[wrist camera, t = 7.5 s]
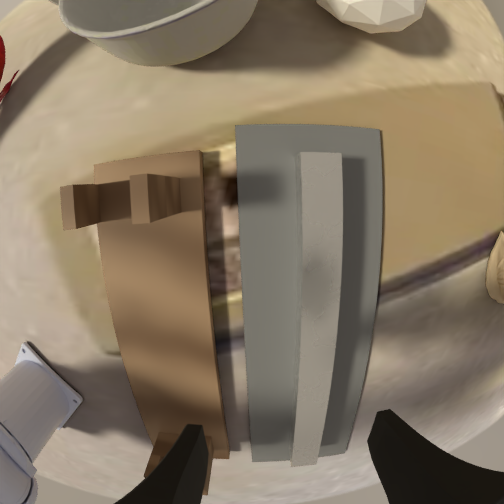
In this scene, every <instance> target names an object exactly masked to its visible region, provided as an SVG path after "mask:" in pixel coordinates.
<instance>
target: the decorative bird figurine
mask: <svg viewBox="0 0 504 504" xmlns="http://www.w3.org/2000/svg"><path fill="white" fill-rule="evenodd" d="M4 66H5V46H4V42H3V39H2V37H1V36H0V82H1V79H2V75H3V70H4ZM18 71H19V70H18ZM18 71H17V72H16V73H15V74H14V76H13V78H12V79H11V81H10V82H8V83H7V84H6V85H5V86H4V88H3V90H2V91H1V93H0V102H1V100H2V99H3V97H4V96H5V95H6V94H7V93H8V91H9V89H10V87H11V84H12V81H13V79H14V78H15V76H16V74H17V73H18Z"/></svg>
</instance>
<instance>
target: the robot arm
mask: <svg viewBox="0 0 504 504" xmlns="http://www.w3.org/2000/svg"><path fill="white" fill-rule="evenodd" d="M82 401H83V399H82V397H81V396H80V395H79V394H78V393H77V392H76V391H75V390H73V389H72V388H71V387H70V386H69V385H68V384H67V383H66V382H65V381H64V380H63V379H61V378H60V377H59V376H58V375H57V374H56V373H55V372H54V371H53V370H52V369H51V368H50V367H49V366H48V365H47V364H46V363H45V362H44V361H43V360H42V359H41V358H40V357H39V356H38V355H37V353H36V352H35V351H34V350H33V349H32V348H31V347H30V346H29V345H28V344H27V343H26V342H24V343H23V344H22V345H21V348H20V351H19V354H18V357H17V360H16V363H15V367H13V368H12V369H11V370H10V371H9V372H8V373H7V374H6V375H4V376H3V377H2V378H1V379H0V504H34V503H35V501H36V499H37V490H38V486H37V481H36V479H35V478H34V474H35V473H36V471H37V469H36V468H35V467H34V466H33V465H32V464H33V462H34V461H35V459H36V458H37V456H38V455H39V453H40V452H41V450H42V449H43V448H44V446H45V445H46V443H47V442H48V440H49V439H50V437H51V436H52V435H53V433H54V432H55V430H56V429H58V430H60V429H61V428H62V427H63V425H64V424H65V423H66V421H67V420H68V419H69V417H70V416H71V415H72V414H73V412H74V411H75V410H76V409H77V407H78V406H79V405H80V403H81V402H82ZM367 442H368V446H369V450H370V454H371V458H372V461H373V464H374V466H375V468H376V471H377V473H378V476H379V478H380V481H381V483H382V485H383V488H384V490H385V492H386V495H387V497H388V501H389V504H504V472H499V471H493V470H489V469H485V468H482V467H479V466H475V465H473V464H470V463H467V462H465V461H463V460H460V459H458V458H456V457H454V456H452V455H450V454H449V453H447V452H445V451H443V450H442V449H440V448H439V447H437V446H436V445H434V444H433V443H431V442H430V441H428V440H427V439H425V438H424V437H423V436H422V435H420V434H419V433H418V432H416V431H415V430H414V429H413V428H412V427H410V426H409V425H408V424H407V423H406V422H404V421H403V420H402V419H401V418H400V417H399V416H397V415H396V414H395V413H394V412H393V411H392V410H390V409H388V410H383V411H379V412H377V414H376V417H375V421H374V423H373V426H372V429H371V432H370V435H369V438H368V440H367ZM208 456H209V452H208V448H207V444H206V439H205V435H204V430H203V426H202V425H196V424H187V425H185V427H184V429H183V430H182V432H181V434H180V435H179V437H178V438H177V440H176V441H175V443H174V444H173V446H172V447H171V449H170V450H169V451H168V452H167V454H166V455H165V456H164V458H163V459H162V460H161V461H160V463H159V464H158V465H157V466H156V467H155V468H154V469H153V471H152V472H151V473H150V474H149V475H148V476H147V477H146V478H145V479H144V480H143V481H142V482H141V483H140V484H139V485H138V486H136V487H135V488H134V489H133V490H132V491H131V492H129V493H128V494H127V495H125V496H124V497H123V498H121V499H120V500H119V501H118V502H116V503H114V504H200V503H201V499H202V494H203V490H204V485H205V480H206V476H207V468H208Z"/></svg>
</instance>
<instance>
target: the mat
mask: <svg viewBox="0 0 504 504" xmlns="http://www.w3.org/2000/svg"><path fill="white" fill-rule="evenodd" d="M235 131H236V160H237V187H238V212H239V235H240V257H241V278H242V299H243V318H244V336H245V354H246V371H247V388H248V404H249V420H250V435H251V449H252V462H268V461H286V460H290V454H289V443H290V430H291V417H292V401H293V383H294V362H295V335H296V288H297V231H296V184H295V156H296V155H297V154H299V153H300V152H328V153H341V154H342V180H343V246H342V273H341V291H340V305H339V318H338V329H337V339H336V348H335V357H334V365H333V373H332V380H331V387H330V394H329V400H328V407H327V413H326V418H325V424H324V429H323V435H322V440H321V445H320V449H319V454H318V457H324V456H331V455H337V454H343V453H345V450H346V447H347V444H348V440H349V437H350V434H351V430H352V427H353V423H354V419H355V415H356V411H357V408H358V403H359V399H360V395H361V391H362V386H363V382H364V377H365V372H366V367H367V362H368V356H369V351H370V345H371V339H372V332H373V325H374V318H375V311H376V302H377V293H378V283H379V272H380V259H381V241H382V160H381V143H380V130H379V129H371V128H361V127H349V126H334V125H312V124H255V125H235Z"/></svg>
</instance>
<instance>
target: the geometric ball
mask: <svg viewBox="0 0 504 504" xmlns="http://www.w3.org/2000/svg"><path fill="white" fill-rule="evenodd" d="M426 1H427V0H316V2H317V4H319V5H320V6H321V7H323V8H324V9H325V10H327V11H328V12H329V13H331V14H332V15H333V16H334V17H336V18H337V19H338V20H339V21H341V22H342V23H345V24H347V25H350V26H353V27H355V28H358V29H360V30H363V31H365V32H368V33H370V34H372V33H383V32H397V31H402V30H404V29H405V28H406V27H408V26H409V25H411V24H412V23H414V22H415V21H417V20H418V19H420V18H421V17H422V14H423V11H424V7H425V4H426Z"/></svg>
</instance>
